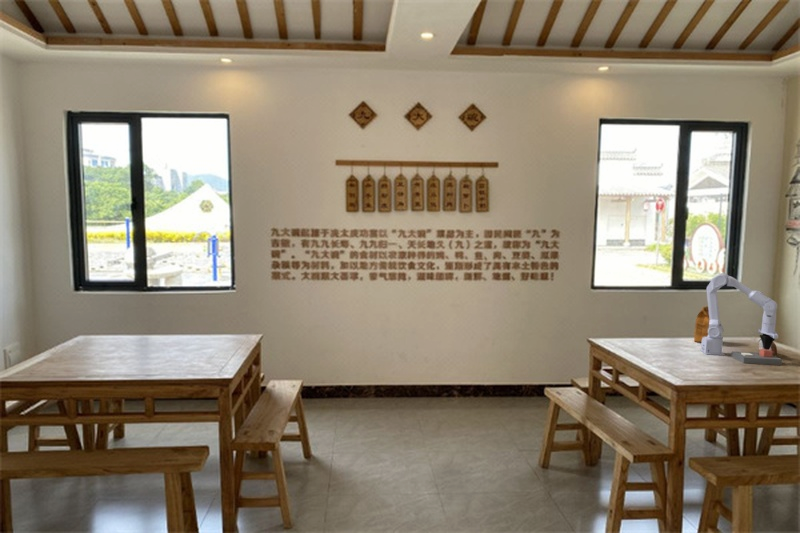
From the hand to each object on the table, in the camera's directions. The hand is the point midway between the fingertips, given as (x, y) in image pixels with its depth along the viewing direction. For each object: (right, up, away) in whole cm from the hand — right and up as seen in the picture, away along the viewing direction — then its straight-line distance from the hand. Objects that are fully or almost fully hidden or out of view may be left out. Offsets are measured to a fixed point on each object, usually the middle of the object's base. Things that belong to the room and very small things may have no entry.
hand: (766, 349), depth 265 cm
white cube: (-9, -6, +2) cm, 11 cm away
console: (-5, -6, +1) cm, 8 cm away
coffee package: (-7, -3, +41) cm, 41 cm away
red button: (0, -4, 0) cm, 4 cm away
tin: (+10, -6, +14) cm, 18 cm away
